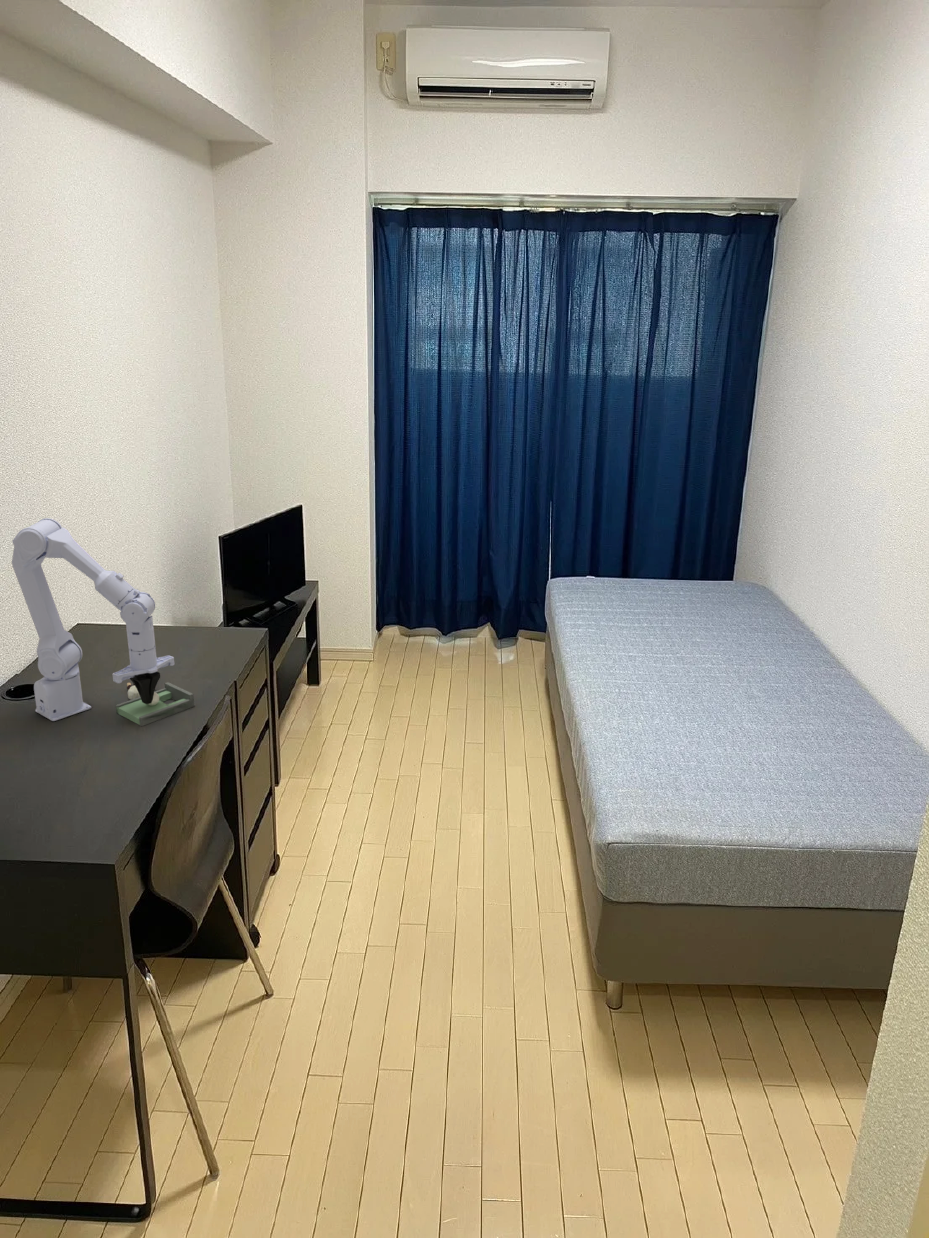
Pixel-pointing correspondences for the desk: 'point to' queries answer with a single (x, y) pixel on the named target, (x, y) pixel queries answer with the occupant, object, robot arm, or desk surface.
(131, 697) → the grandmother figurine
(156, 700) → the ball
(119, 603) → the robot arm
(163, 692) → the green walled tray
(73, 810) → the desk surface
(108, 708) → the desk surface
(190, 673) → the desk surface
